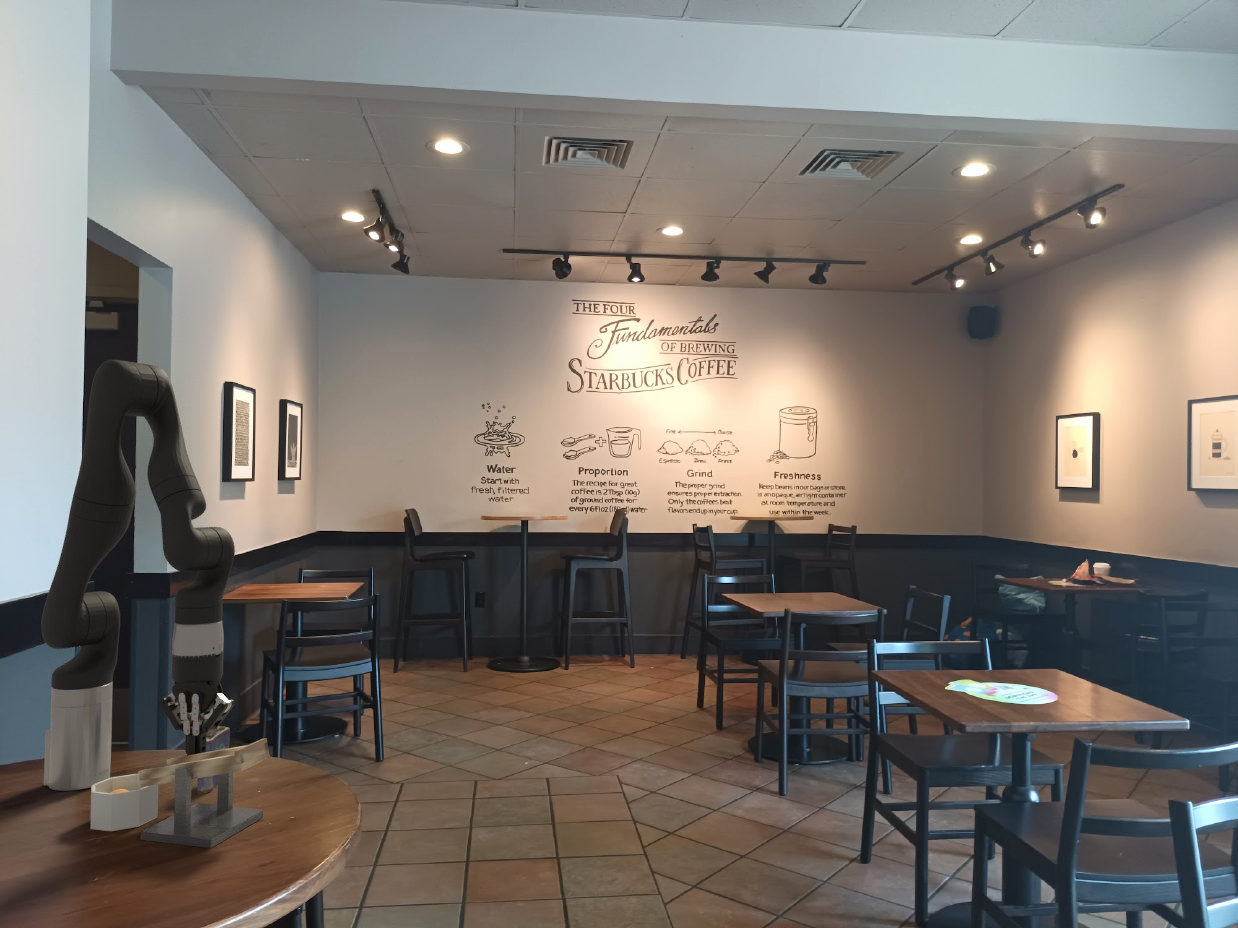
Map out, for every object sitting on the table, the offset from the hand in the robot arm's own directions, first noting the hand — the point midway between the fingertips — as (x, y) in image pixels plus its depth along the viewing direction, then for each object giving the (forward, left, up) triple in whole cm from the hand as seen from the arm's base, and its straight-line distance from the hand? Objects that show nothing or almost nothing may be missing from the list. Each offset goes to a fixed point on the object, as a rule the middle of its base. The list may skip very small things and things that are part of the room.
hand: (195, 756), depth 140 cm
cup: (-8, -6, -8) cm, 13 cm away
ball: (-9, -6, -6) cm, 12 cm away
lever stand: (+7, -6, -8) cm, 13 cm away
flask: (-5, +11, -9) cm, 14 cm away
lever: (+7, -3, 0) cm, 8 cm away
